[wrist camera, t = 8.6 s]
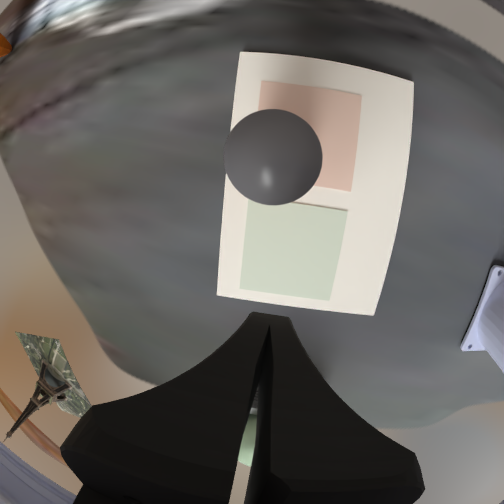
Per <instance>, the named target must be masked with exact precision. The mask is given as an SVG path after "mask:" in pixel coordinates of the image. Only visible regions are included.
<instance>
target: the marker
mask: <svg viewBox="0 0 504 504" xmlns="http://www.w3.org/2000/svg"><path fill="white" fill-rule="evenodd" d="M322 160H323V155H322V148H321V144H320V141H319V139H318V136H317V135H316V133H315V131H314V130H313V129H312V127H311V126H310V125H309V124H308V123H307V122H306V121H305V120H303V119H302V118H301V117H299V116H297V115H296V114H294V113H291V112H289V111H285V110H280V109H265V110H260V111H256V112H254V113H251V114H249V115H248V116H246V117H244V118H243V119H242V120H240V121H239V122H238V123H237V124H236V125H235V126H234V128H233V129H232V130H231V132H230V134H229V136H228V138H227V140H226V143H225V147H224V166H225V170H226V173H227V176H228V178H229V180H230V181H231V183H232V184H233V186H234V187H235V188H236V189H237V190H238V191H239V192H240V193H241V194H242V195H243V196H245V197H246V198H248V199H250V200H252V201H254V202H256V203H260V204H264V205H283V204H288V203H291V202H293V201H295V200H297V199H299V198H301V197H302V196H304V195H305V194H306V193H307V192H308V191H309V190H310V189H311V188H312V187H313V186H314V184H315V182H316V181H317V179H318V177H319V174H320V171H321V168H322Z"/></svg>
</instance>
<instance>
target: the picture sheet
mask: <svg viewBox="0 0 504 504" xmlns="http://www.w3.org/2000/svg"><path fill="white" fill-rule="evenodd" d="M413 96H414V82H411V81H408V80H405V79H402V78H399V77H396V76H392V75H389V74H385V73H382V72H378V71H374V70H370V69H366V68H362V67H358V66H353V65H349V64H344V63H339V62H334V61H328V60H322V59H316V58H309V57H302V56H293V55H284V54H273V53H258V52H240V57H239V64H238V72H237V80H236V88H235V96H234V105H233V113H232V122H231V130H232V129H233V128H234V126H235V125H236V124H237V123H238V122H239V121H240V120H242V119H243V118H244V117H246V116H248V115H249V114H251V113H254V112H256V111H260V110H265V109H280V110H285V111H289V112H291V113H294V114H296V115H297V116H299V117H301V118H302V119H303V120H305V121H306V122H307V123H308V124H309V125H310V126H311V127H312V129H313V130H314V131H315V133H316V135H317V136H318V139H319V141H320V144H321V148H322V155H323V160H322V168H321V171H320V174H319V177H318V179H317V181H316V182H315V184H314V186H313V187H312V188H311V189H310V190H309V191H308V192H307V193H306V194H305V195H304V196H302V197H301V198H299V199H297V200H295V201H293V202H291V203H288V204H283V205H264V204H260V203H256V202H254V201H252V200H250V199H248V198H246V197H245V196H243V195H242V194H241V193H240V192H239V191H238V190H237V189H236V188H235V187H234V186H233V184H232V183H231V181H230V180H229V178H228V176H227V173H226V181H225V192H224V204H223V216H222V228H221V241H220V255H219V270H218V286H217V295H219V296H225V297H232V298H238V299H244V300H251V301H258V302H265V303H272V304H279V305H286V306H294V307H302V308H310V309H318V310H326V311H335V312H344V313H354V314H364V315H374V313H375V309H376V306H377V303H378V300H379V297H380V293H381V290H382V286H383V283H384V279H385V276H386V272H387V268H388V264H389V260H390V256H391V252H392V248H393V244H394V240H395V235H396V231H397V226H398V221H399V216H400V211H401V205H402V200H403V194H404V188H405V181H406V175H407V167H408V159H409V151H410V141H411V130H412V117H413ZM230 132H231V131H230Z"/></svg>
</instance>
